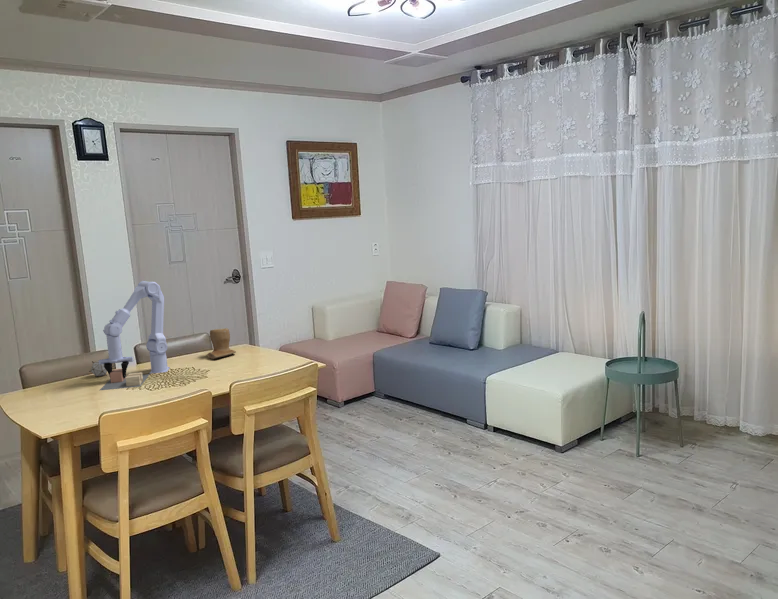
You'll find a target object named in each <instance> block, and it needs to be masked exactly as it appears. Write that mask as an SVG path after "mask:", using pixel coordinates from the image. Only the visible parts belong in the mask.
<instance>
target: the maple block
mask: <svg viewBox="0 0 778 599" xmlns="http://www.w3.org/2000/svg"><path fill="white" fill-rule="evenodd" d="M143 375H144V374H143V372H132V373H128V374H127V375H126V376H127V377H126V386H136V385H140V384H141V383H142V382H143Z"/></svg>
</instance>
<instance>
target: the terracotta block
mask: <svg viewBox="0 0 778 599" xmlns="http://www.w3.org/2000/svg"><path fill="white" fill-rule="evenodd" d="M125 378H126V377H125ZM125 378H123V371H122V368H117V369H116V368H115V369H112V372H111V373H110V376H109V380H110V379H111V383H115V382H122V381H123V380H124V379H125Z"/></svg>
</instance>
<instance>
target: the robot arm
mask: <svg viewBox="0 0 778 599" xmlns="http://www.w3.org/2000/svg"><path fill="white" fill-rule="evenodd" d="M144 298H148V299H149V300H151V319H150V320H151V325H150V327H151V328H150V335H148V340H147V342H146V344H145V345H146V349H147V351H149V361H150V371H149V372H148V374H150V375H151V374H159V373H160V374H161V373H162V374H163V373H167V372H168V371H169V369H170V366H168V357H167V353H166V351H167V350H168V342H167V338H166V336H165V335H164V318H165V316H164V315H165V314H164V313H165V296H164V294H163V292H162V289H161V285H160V284H158V283H157V282H156V281H147V280H141V281H140V282H138V284H137V285H136V286H135V288H134V290H133V292H132V293H131V296H130V297H129V299H128V300H127V302H126V303H125V305H124V306H123V307H122V308H120V309H118V310H115V312H114V316H113V317H112V319H110V320H109V321H108V322H109V323H107V324H105V326H104V328H103V330H102V331H103V334H104V335H105V337H106V344H107V352H108V358H103V359H99V360H98V361H99V365H101V364H104V368H105V369H106V370H107V373H108V374H107V375H109V377H110V373H111V372H112V371H113V364H116V363H117V364H119V363H120V366H121V369H122V371H123V378H125V377H126V376H127V375H126V374H127V370H128V366H129V363H133V362H134V360H135V359H134V356H124V355H123V349H122V340H121V334H122V332H123V327H124V325H125V324H126V323H127V322H128V320H129V319H130V318H131V311H132V310H133V309H134V308H135V307H136V305H137V304H138V303H139V301H140V300H141V299H144Z"/></svg>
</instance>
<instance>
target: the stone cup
mask: <svg viewBox="0 0 778 599" xmlns="http://www.w3.org/2000/svg"><path fill="white" fill-rule="evenodd" d="M230 333H231V332H230V329H229V328H227V327H226V328H215V329H210V331H209V339H210V342H211V344H212V347H213V350H212V351H210V352H209V353H207V357H208V358H209V359H211V360H215V359H221V358H223V357H227V356H230V355H233V354H236V353H237V351H236V350H233V349H231V348H230V340H231V334H230Z"/></svg>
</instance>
